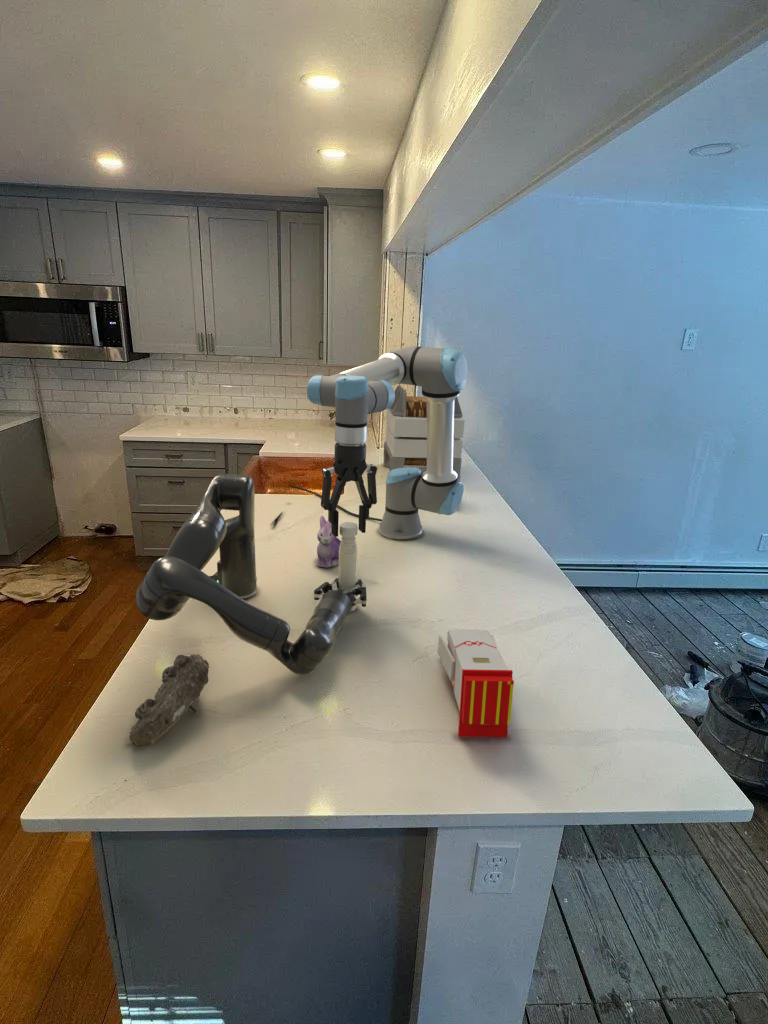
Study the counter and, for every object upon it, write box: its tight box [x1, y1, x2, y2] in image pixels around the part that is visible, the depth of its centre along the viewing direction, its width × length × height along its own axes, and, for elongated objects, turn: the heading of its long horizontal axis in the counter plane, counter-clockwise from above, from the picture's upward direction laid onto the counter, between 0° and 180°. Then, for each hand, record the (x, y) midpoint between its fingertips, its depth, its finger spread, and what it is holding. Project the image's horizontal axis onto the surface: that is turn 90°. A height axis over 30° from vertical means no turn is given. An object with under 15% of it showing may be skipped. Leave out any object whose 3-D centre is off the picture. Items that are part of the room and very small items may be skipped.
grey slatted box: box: [383, 384, 465, 482], centre depth 268 cm, size 34×33×41 cm
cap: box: [339, 521, 359, 537], centre depth 142 cm, size 4×4×2 cm
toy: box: [437, 628, 515, 738], centre depth 117 cm, size 12×13×30 cm
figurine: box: [316, 515, 341, 568], centre depth 173 cm, size 9×10×15 cm
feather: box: [270, 512, 283, 529], centre depth 212 cm, size 2×28×2 cm
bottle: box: [337, 536, 358, 613], centre depth 146 cm, size 5×5×23 cm
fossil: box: [128, 653, 210, 746], centre depth 108 cm, size 22×10×15 cm
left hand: (350, 581), depth 150 cm, fingers closed on bottle, 4 cm apart
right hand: (348, 532), depth 142 cm, fingers open, 7 cm apart
